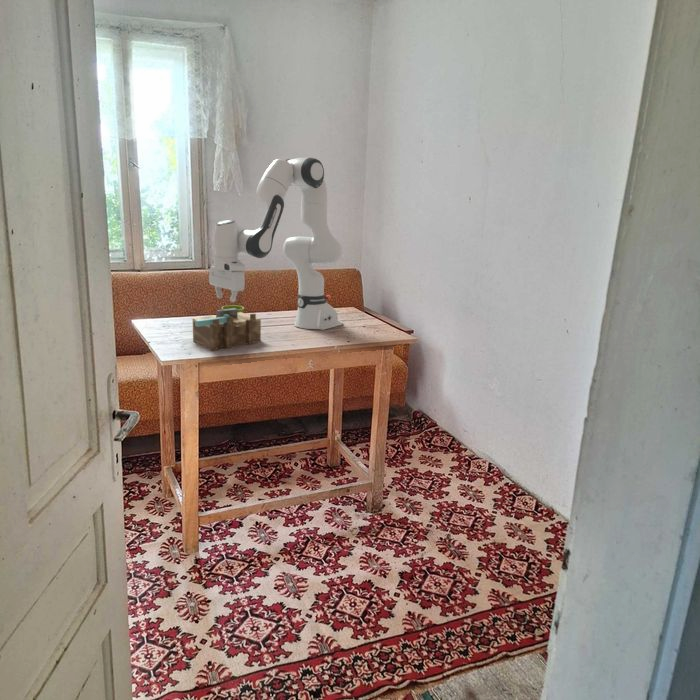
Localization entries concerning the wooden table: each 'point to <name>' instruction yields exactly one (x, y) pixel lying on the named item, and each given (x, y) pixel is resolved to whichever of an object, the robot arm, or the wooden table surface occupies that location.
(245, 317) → the lid
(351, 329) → the wooden table surface
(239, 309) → the plant pot
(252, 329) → the wooden crate
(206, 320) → the bar
